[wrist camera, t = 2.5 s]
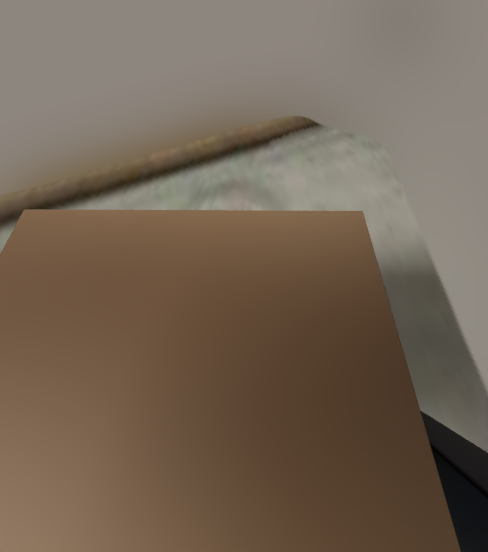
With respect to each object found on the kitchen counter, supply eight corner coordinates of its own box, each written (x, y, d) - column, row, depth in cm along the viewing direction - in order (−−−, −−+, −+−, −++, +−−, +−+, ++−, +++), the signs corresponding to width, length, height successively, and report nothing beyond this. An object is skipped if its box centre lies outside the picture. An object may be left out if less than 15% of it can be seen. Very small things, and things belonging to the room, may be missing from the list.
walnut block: (275, 451, 14) (477, 608, 2) (180, 452, 14) (-191, 613, 2) (271, 372, 16) (363, 210, 4) (188, 373, 16) (23, 209, 4)
